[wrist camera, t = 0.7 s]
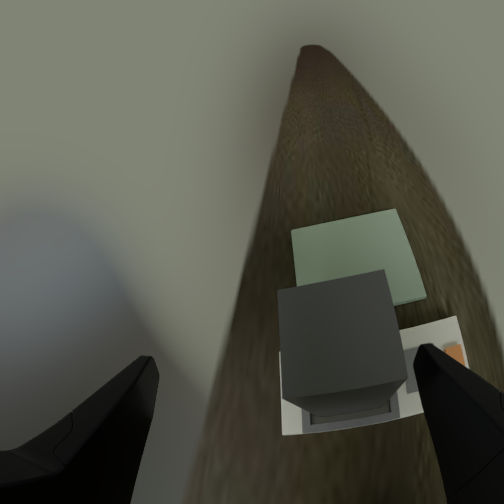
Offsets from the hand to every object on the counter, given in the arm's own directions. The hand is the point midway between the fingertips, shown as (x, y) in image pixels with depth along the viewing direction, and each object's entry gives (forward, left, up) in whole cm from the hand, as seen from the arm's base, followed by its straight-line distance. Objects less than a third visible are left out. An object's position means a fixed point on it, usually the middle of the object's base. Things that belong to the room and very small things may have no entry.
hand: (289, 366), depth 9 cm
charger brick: (+1, -2, -11) cm, 11 cm away
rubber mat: (+11, -4, -12) cm, 17 cm away
